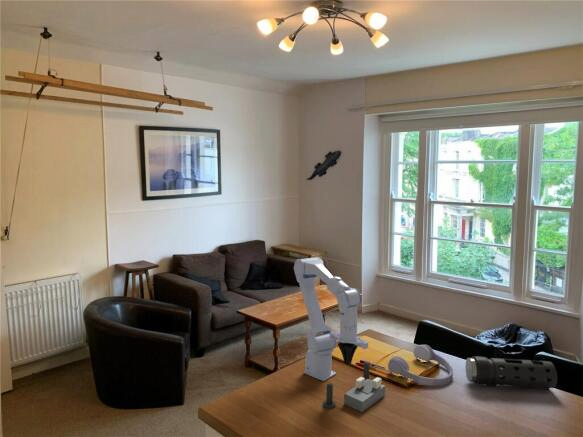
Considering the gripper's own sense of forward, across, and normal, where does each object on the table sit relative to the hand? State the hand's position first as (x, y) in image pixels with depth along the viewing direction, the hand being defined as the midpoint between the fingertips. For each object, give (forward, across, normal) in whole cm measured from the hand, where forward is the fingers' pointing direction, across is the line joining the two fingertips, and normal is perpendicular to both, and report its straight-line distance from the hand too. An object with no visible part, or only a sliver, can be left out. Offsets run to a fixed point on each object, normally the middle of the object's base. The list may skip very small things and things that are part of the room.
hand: (347, 363), depth 149 cm
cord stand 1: (+10, 0, -11) cm, 15 cm away
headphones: (+11, +13, +32) cm, 36 cm away
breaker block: (+10, +7, 0) cm, 13 cm away
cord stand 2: (+10, 0, +11) cm, 15 cm away
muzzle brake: (+11, +40, +43) cm, 60 cm away
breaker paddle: (+6, +5, 0) cm, 8 cm away
